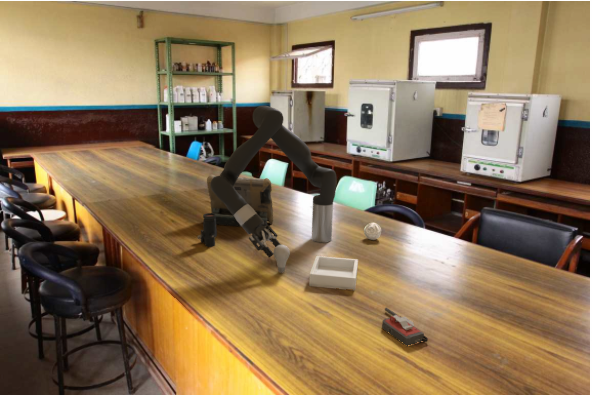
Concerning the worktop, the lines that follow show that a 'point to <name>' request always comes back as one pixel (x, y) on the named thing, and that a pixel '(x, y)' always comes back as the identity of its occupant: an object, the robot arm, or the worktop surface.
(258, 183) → the tablet
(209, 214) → the scope
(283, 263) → the lightbulb
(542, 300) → the worktop surface
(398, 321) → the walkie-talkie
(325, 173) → the robot arm
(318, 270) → the tray
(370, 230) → the white textured ball
